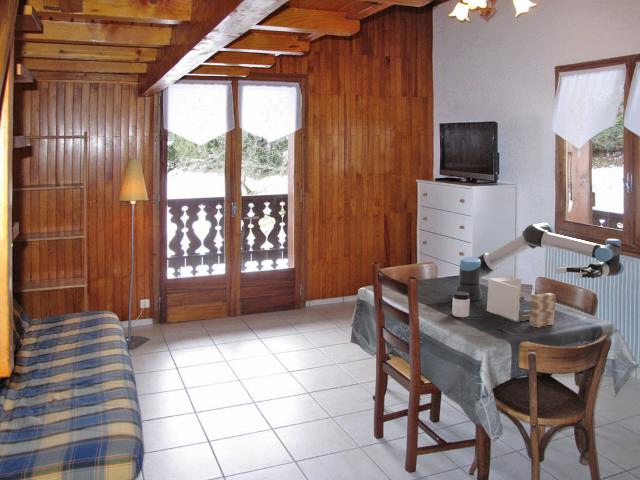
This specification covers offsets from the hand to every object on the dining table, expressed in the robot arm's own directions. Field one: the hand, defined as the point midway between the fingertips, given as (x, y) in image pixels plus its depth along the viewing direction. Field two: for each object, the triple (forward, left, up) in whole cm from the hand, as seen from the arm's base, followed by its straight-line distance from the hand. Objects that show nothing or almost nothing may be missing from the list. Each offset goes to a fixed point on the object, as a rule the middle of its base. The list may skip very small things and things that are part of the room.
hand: (566, 273), depth 322 cm
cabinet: (+6, -25, -26) cm, 36 cm away
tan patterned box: (+12, -5, -26) cm, 29 cm away
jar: (+27, -43, -26) cm, 58 cm away
